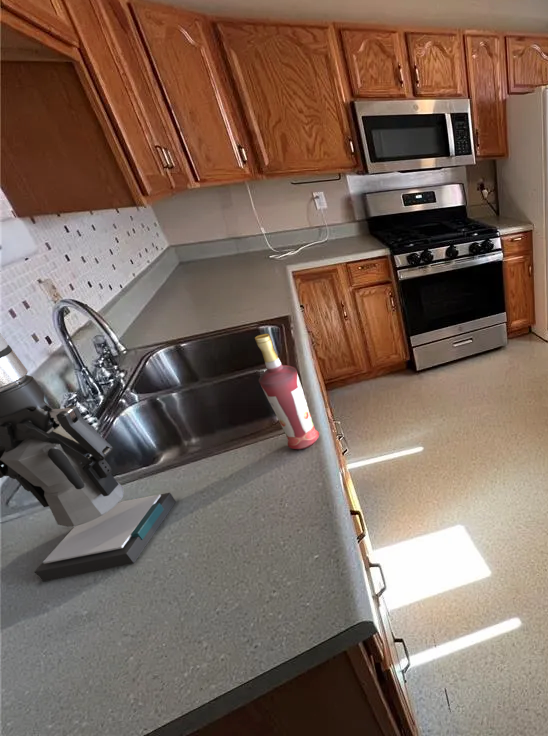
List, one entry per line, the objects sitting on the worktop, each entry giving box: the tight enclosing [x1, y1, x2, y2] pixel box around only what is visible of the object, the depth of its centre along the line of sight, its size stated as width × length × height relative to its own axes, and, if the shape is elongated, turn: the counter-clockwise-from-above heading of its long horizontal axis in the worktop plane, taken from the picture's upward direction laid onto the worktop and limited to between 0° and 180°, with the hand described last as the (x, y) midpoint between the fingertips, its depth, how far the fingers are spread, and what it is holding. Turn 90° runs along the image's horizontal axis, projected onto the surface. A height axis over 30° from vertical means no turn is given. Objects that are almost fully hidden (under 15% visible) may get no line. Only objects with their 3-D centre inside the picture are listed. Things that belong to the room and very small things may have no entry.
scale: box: [33, 492, 177, 582], centre depth 76 cm, size 14×14×3 cm
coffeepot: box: [0, 427, 125, 528], centre depth 69 cm, size 15×9×18 cm, turn 59°
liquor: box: [254, 333, 320, 450], centre depth 91 cm, size 7×7×28 cm
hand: (82, 495), depth 72 cm, fingers closed on coffeepot, 8 cm apart
